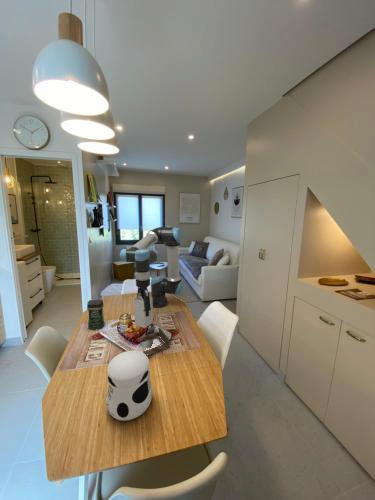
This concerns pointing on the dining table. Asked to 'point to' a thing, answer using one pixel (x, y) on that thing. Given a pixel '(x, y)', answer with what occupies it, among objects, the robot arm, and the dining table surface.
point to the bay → (149, 343)
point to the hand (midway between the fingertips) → (144, 316)
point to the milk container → (128, 385)
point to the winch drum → (151, 328)
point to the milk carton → (140, 313)
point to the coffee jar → (95, 314)
